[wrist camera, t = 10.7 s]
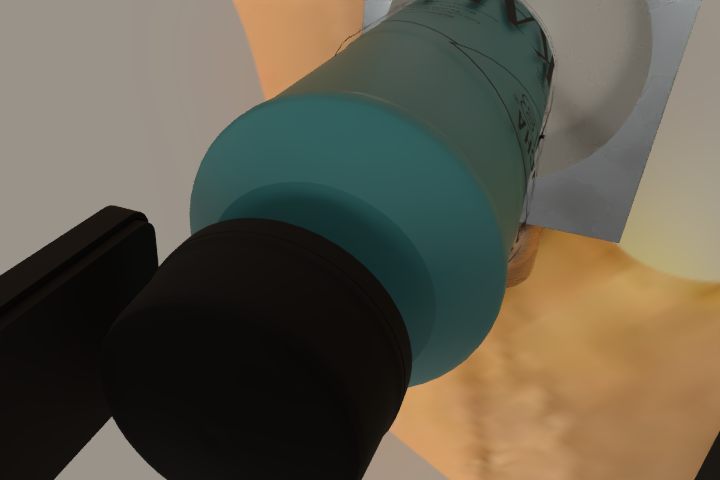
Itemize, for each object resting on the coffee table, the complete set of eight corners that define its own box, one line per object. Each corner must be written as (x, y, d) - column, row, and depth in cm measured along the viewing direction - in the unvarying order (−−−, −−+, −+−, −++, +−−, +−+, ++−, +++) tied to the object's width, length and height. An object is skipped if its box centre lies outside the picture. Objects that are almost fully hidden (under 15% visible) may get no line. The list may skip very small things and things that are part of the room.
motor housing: (593, 251, 34) (593, 323, 29) (378, 205, 37) (342, 263, 31) (717, -139, 24) (753, -141, 19) (416, -164, 27) (373, -172, 22)
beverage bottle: (419, 155, 27) (142, 592, 11) (370, -2, 25) (-93, 255, 8) (577, 120, 24) (531, 638, 8) (540, -61, 22) (361, 152, 5)
